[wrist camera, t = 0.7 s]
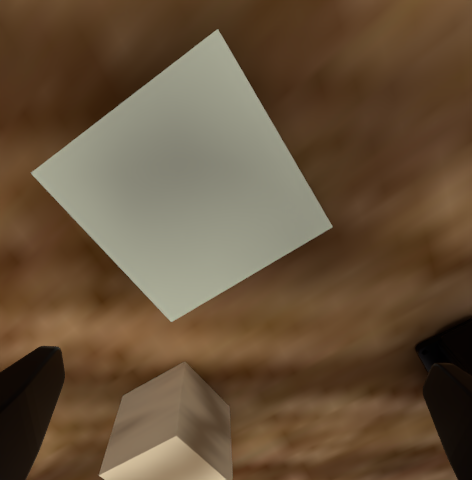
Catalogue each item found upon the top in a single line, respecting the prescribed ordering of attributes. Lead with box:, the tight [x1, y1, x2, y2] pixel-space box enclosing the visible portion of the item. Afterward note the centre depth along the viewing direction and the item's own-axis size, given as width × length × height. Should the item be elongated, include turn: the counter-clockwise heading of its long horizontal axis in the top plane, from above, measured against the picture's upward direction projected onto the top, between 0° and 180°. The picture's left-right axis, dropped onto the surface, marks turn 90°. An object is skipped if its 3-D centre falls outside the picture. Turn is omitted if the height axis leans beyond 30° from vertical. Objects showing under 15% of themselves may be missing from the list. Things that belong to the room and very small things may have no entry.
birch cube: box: [99, 362, 233, 480], centre depth 24 cm, size 6×6×6 cm
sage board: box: [31, 29, 333, 322], centre depth 20 cm, size 12×12×1 cm
